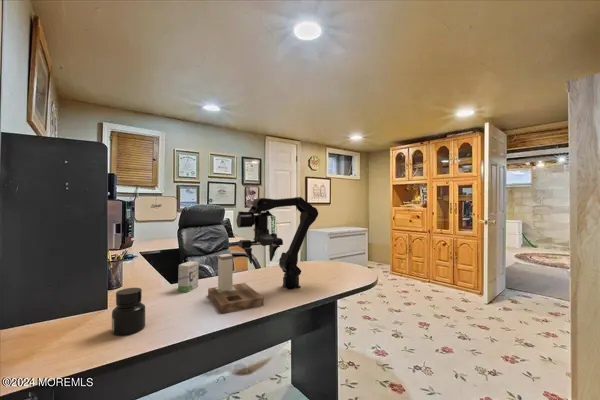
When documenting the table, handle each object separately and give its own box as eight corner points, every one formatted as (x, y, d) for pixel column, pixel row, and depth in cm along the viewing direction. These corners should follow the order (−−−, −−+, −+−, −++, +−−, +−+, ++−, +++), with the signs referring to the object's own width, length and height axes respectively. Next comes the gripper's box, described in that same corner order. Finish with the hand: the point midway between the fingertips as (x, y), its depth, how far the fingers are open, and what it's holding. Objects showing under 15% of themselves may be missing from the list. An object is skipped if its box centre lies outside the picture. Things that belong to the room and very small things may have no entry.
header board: (244, 289, 127) (244, 282, 127) (263, 305, 108) (263, 297, 108) (208, 295, 119) (208, 287, 119) (221, 313, 100) (221, 304, 100)
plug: (228, 286, 121) (228, 253, 121) (232, 289, 117) (232, 255, 117) (217, 288, 118) (217, 254, 118) (221, 291, 115) (221, 256, 115)
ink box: (188, 286, 132) (188, 260, 132) (198, 286, 131) (198, 261, 131) (177, 291, 124) (177, 265, 124) (187, 292, 123) (187, 265, 123)
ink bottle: (126, 322, 93) (126, 285, 93) (152, 323, 92) (152, 286, 92) (103, 336, 83) (103, 295, 83) (131, 337, 82) (131, 296, 82)
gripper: (246, 229, 112) (246, 268, 112) (288, 227, 121) (288, 263, 121) (238, 227, 121) (238, 263, 121) (277, 225, 131) (277, 259, 130)
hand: (261, 262), depth 123 cm, fingers open, 9 cm apart
